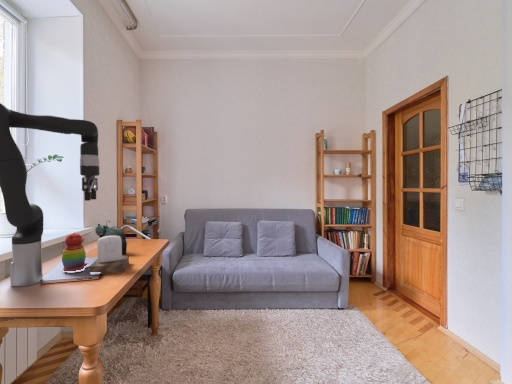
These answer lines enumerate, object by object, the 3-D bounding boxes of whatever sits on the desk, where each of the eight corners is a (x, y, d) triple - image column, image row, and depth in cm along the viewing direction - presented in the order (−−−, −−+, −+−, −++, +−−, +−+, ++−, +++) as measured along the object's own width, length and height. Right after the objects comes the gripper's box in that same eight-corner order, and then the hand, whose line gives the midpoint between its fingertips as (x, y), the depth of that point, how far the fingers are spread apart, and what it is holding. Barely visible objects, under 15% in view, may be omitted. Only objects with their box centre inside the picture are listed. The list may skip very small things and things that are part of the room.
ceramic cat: (94, 253, 151) (93, 220, 151) (104, 251, 158) (103, 219, 157) (121, 256, 146) (120, 221, 145) (129, 253, 152) (129, 220, 151)
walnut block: (89, 275, 114) (88, 266, 114) (98, 266, 127) (98, 258, 127) (123, 272, 118) (123, 263, 118) (128, 263, 132) (128, 255, 132)
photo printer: (121, 258, 127) (121, 233, 127) (122, 260, 123) (121, 235, 123) (97, 261, 122) (97, 236, 121) (97, 263, 118) (97, 237, 118)
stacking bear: (82, 272, 118) (81, 235, 117) (57, 275, 115) (56, 236, 115) (91, 265, 128) (90, 231, 128) (68, 267, 126) (67, 232, 125)
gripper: (85, 166, 123) (86, 199, 124) (74, 163, 109) (75, 201, 110) (103, 166, 125) (103, 199, 126) (94, 164, 112) (95, 200, 112)
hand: (90, 200), depth 118 cm, fingers open, 8 cm apart
